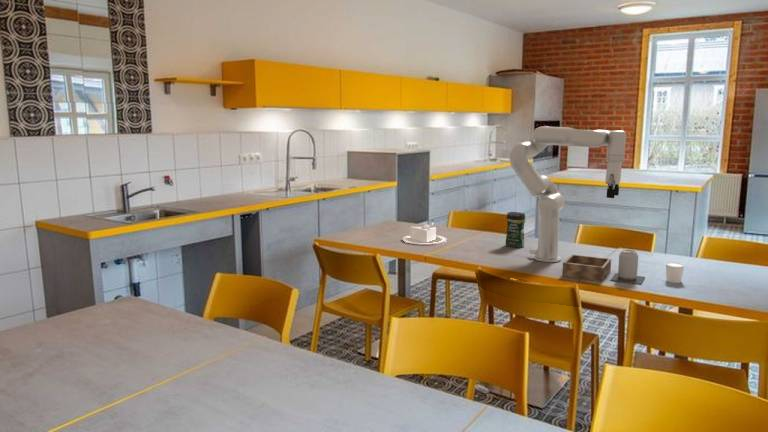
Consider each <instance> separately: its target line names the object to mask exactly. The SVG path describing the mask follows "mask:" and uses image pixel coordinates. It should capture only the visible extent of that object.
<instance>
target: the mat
mask: <svg viewBox="0 0 768 432" xmlns="http://www.w3.org/2000/svg"><path fill="white" fill-rule="evenodd" d="M645 279H646V277H645V276H643V275H637V278H635V279H634V280H625V279H621V278H620V277H619V276H618V272H615V273H614V274H613V276H612V277H611V279H610V281H611V282H616V283H617V282H618V283H625V284H631V283H632V285H638V286H639V285H640V286H641V285H642V284H643V283H644V280H645Z"/></svg>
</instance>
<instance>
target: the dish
mask: <svg viewBox="0 0 768 432" xmlns="http://www.w3.org/2000/svg"><path fill="white" fill-rule="evenodd" d="M434 224H435V223H434V222H431V224H427V223H426V222H424V224H423V225H422V226H410V227H409V235H405V236H404V237H402V238H401V241H402V240H403V241H404V242H406V243H405V244H407V243H411V244H421V245H429V244H439V243H443V242H445V243H447V241H446V240H447V237H444V236H443V235H438V234H437V227H436V226H433V225H434ZM432 226H433V227H432ZM436 237H438V238H440V239H442V240H441V241H439V242H433V243H417V242H411V241H408V240H407V239H408V238H412V239H416V240H420V241H423V242H429V241H432V240H435V239H436ZM403 241H402V242H403ZM404 242H403V243H404ZM411 244H410V245H411ZM443 244H444V243H443ZM439 245H440V244H439Z"/></svg>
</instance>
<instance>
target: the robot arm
mask: <svg viewBox="0 0 768 432" xmlns="http://www.w3.org/2000/svg"><path fill="white" fill-rule="evenodd" d="M626 144H627V133H626V131H624V130H607V129H606V130H605V129H593V130H592V129H576V128H572V127H568V126H565V127H564V126H548V125H544V126H542V125H541V126H539V127H537V128H535V129H534V130H533V133H532V136H531V137H530V138H529V139H527V140H526V141H520V142H518V143H516V144H514V146H513V147H512V148H511V150H510V153H509V164H510V166H511V168H512V169H513V171H514V173H515V174H516V175H517V177H518V178H519V180H520V181H521V183H522V184H523V185H524V187H525V188H526V190H527V191H528V192H529V193H528V194H530V195H531V196H533V197H539V198H540V200H539V201H538V205H537V212H538V213H537V214H538V230H537V231H538V236H537V237H538V238H537V248H536V249H532V248H529V251H528V252H529V253H528V254H532V255H534V257H533V259H534V260H536V261H538V262H542V263H558V262H561V261H562V257H561V256H560V255H559V239H560V238H559V237H560V213H559V212H561V211H562V210H563V209H564V207H565V205H566V204H565V203H566V201H565V198H564V196H563V194H562V193H561V192H560V190H559V189H558V187H557V185H555V183H554V182H553V181H552V179H551V178H550V177H548V176H546V175H543V174H542V175H541V174H539V173H538V171H537V170H536V168H535V167H534V166H533V165H532V164H531V163H530V162H529V159H532V158H535V157H536V156H537V155H538V154H540V153H541V152H542V151H543V150H544V149H546V148H547V147H548V146H563V147H564V146H565V147H583V148H600V147H606V159H605V161H606V162H607V164H606V165H607V166H606V172H605V184H606V185H607V189H606V198H608V199H614V198H615V196H619V194H620V193H619V191H620V182H621V179H622V178H621V177H622V164H623V163H625V156H626Z"/></svg>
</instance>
